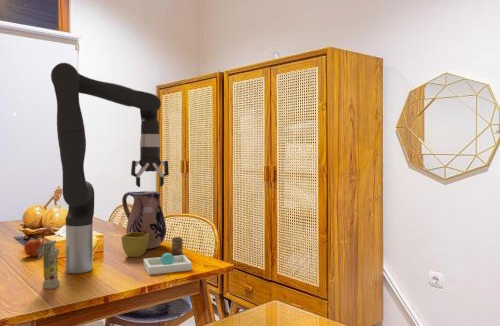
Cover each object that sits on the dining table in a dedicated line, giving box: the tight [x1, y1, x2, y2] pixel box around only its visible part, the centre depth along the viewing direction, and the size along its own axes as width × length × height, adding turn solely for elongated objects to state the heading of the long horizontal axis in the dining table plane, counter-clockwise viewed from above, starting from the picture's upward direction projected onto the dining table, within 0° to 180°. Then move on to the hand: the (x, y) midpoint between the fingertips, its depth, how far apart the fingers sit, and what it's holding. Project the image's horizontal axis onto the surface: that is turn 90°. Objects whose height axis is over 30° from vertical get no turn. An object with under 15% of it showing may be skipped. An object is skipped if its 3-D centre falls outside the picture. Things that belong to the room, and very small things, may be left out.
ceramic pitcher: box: [121, 190, 167, 250], centre depth 190 cm, size 18×21×25 cm
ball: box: [161, 252, 174, 265], centre depth 160 cm, size 5×5×5 cm
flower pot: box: [121, 232, 150, 258], centre depth 176 cm, size 9×9×9 cm
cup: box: [171, 236, 185, 256], centre depth 176 cm, size 6×6×8 cm
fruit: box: [24, 237, 44, 258], centre depth 173 cm, size 7×7×8 cm
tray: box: [143, 254, 193, 275], centre depth 160 cm, size 16×12×3 cm
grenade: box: [36, 240, 60, 290], centre depth 137 cm, size 6×7×15 cm
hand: (149, 186), depth 166 cm, fingers open, 8 cm apart
